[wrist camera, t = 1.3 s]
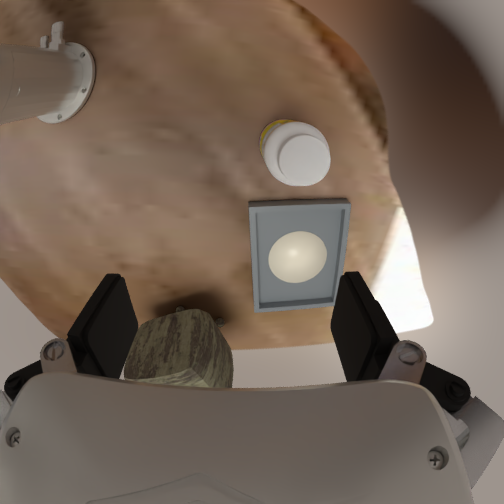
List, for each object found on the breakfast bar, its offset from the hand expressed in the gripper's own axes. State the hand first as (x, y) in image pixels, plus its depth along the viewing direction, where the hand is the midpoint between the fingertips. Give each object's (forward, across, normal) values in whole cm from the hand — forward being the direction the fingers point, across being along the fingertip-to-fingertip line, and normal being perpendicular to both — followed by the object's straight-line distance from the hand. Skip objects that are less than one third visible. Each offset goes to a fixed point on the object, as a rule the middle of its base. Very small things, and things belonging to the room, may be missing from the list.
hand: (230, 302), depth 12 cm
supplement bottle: (+28, -5, -3) cm, 29 cm away
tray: (+28, -8, +14) cm, 32 cm away
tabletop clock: (+28, +10, +25) cm, 39 cm away
